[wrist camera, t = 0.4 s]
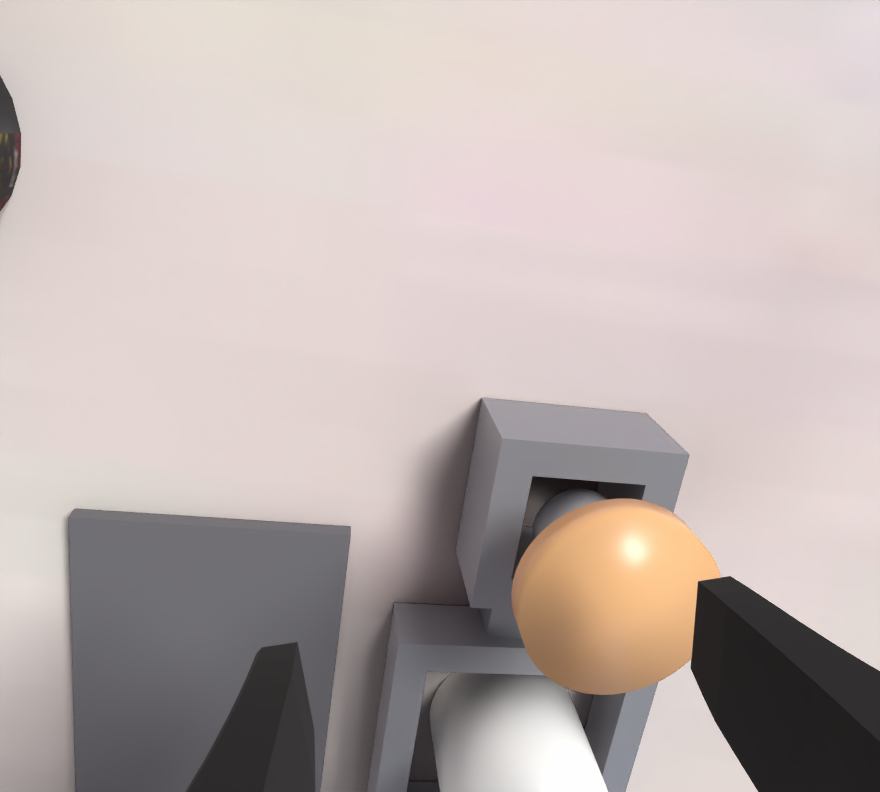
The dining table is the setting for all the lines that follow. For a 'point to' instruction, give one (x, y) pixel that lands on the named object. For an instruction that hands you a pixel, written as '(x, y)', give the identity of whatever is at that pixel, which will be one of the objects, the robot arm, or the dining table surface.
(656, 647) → the plunger
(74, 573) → the mat
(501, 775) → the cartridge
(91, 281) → the dining table surface
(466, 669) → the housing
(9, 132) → the deodorant
